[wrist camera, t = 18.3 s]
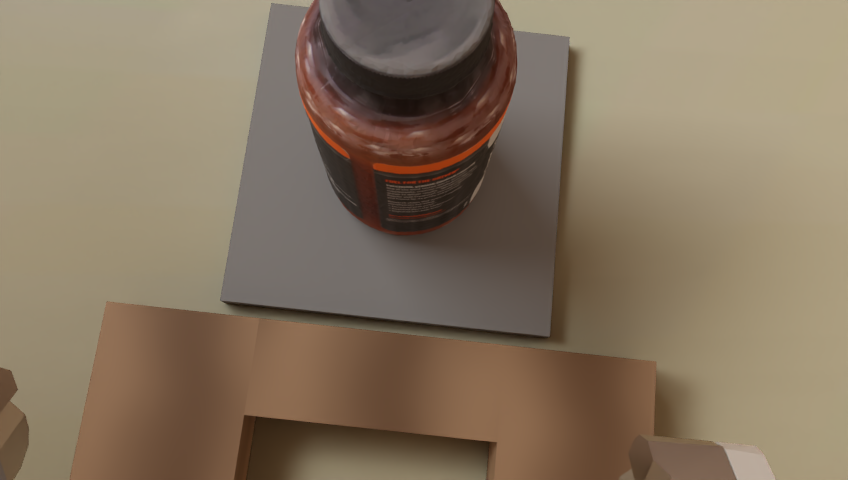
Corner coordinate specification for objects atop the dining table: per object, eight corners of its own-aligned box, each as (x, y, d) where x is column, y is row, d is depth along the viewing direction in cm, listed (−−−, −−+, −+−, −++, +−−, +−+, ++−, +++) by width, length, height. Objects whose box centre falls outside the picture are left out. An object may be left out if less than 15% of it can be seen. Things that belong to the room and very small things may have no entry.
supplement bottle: (515, 172, 26) (598, 12, 15) (396, 272, 25) (393, 177, 14) (414, 61, 27) (424, -166, 16) (295, 153, 26) (218, -22, 15)
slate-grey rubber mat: (224, 302, 26) (220, 300, 25) (273, 11, 28) (271, 3, 28) (546, 337, 26) (549, 336, 25) (566, 44, 28) (569, 37, 28)
